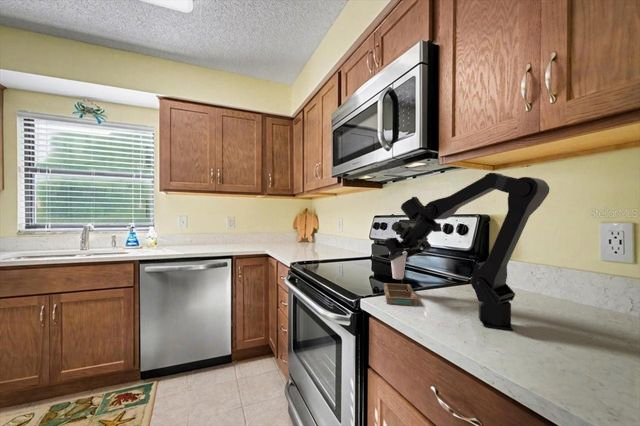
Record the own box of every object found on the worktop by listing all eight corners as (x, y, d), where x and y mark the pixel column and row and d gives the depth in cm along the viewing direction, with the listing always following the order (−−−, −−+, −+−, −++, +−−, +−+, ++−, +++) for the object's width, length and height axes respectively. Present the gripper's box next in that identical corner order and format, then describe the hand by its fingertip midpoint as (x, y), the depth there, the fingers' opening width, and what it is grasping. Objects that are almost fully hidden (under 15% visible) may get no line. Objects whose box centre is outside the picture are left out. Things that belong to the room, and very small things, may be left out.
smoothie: (409, 280, 98) (409, 240, 99) (391, 279, 99) (391, 240, 99) (404, 276, 105) (404, 239, 105) (387, 275, 105) (387, 238, 105)
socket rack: (383, 288, 108) (383, 283, 108) (409, 289, 106) (409, 284, 106) (386, 304, 89) (387, 297, 89) (418, 305, 88) (418, 299, 88)
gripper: (423, 214, 103) (400, 241, 113) (387, 214, 94) (366, 244, 103) (443, 236, 97) (417, 263, 106) (406, 239, 87) (381, 268, 96)
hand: (395, 259), depth 103 cm, fingers closed on smoothie, 6 cm apart
